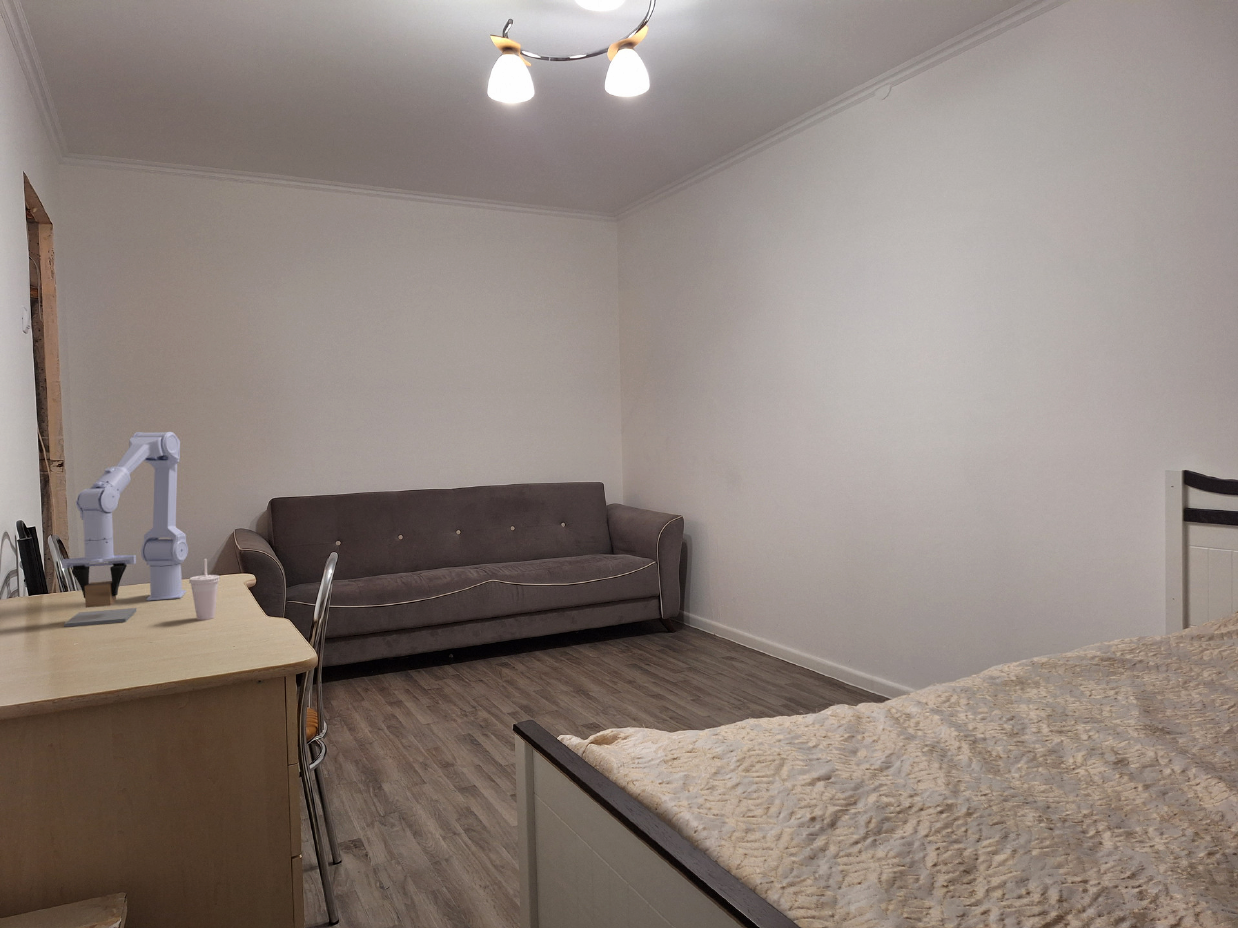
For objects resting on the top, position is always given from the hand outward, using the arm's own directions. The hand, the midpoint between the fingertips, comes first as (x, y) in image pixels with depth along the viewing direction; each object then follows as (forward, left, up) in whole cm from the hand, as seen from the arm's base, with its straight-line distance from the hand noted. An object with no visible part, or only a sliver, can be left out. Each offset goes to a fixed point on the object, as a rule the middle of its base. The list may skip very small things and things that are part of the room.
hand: (100, 596), depth 187 cm
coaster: (0, 0, -5) cm, 5 cm away
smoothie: (+9, +23, -6) cm, 25 cm away
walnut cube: (0, 0, -2) cm, 2 cm away
